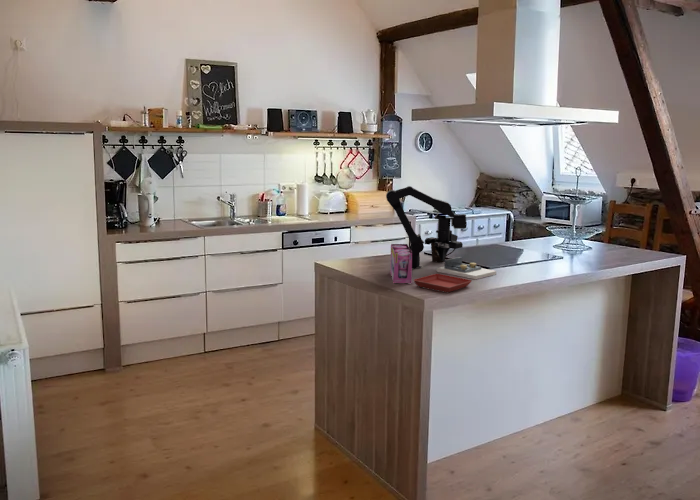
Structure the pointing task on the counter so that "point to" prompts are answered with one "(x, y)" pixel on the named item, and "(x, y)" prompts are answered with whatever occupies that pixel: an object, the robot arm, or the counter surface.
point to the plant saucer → (442, 282)
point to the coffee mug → (436, 254)
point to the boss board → (471, 274)
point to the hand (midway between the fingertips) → (442, 260)
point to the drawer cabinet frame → (458, 265)
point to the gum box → (401, 263)
